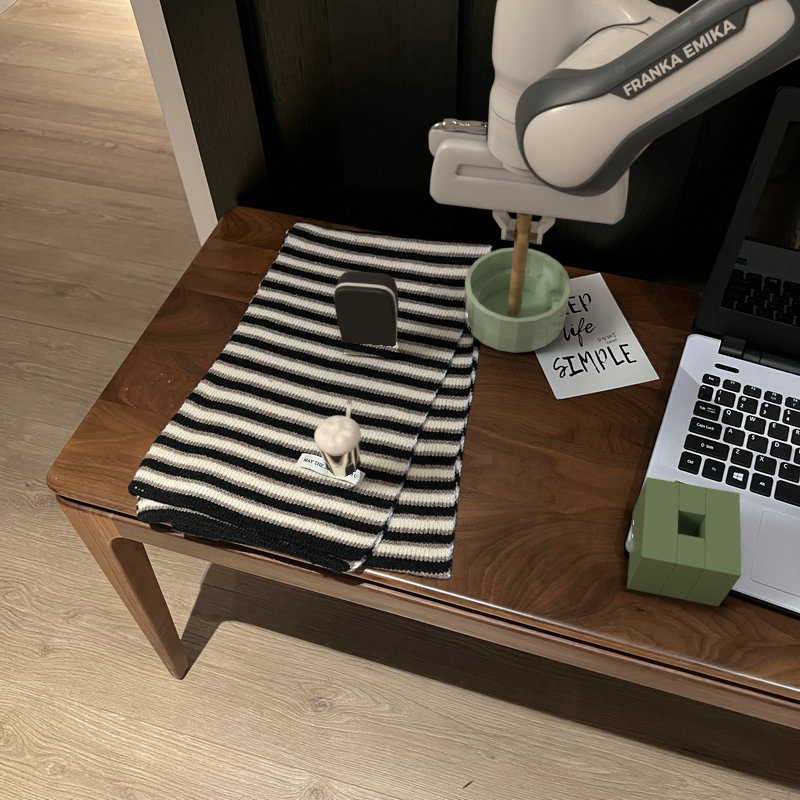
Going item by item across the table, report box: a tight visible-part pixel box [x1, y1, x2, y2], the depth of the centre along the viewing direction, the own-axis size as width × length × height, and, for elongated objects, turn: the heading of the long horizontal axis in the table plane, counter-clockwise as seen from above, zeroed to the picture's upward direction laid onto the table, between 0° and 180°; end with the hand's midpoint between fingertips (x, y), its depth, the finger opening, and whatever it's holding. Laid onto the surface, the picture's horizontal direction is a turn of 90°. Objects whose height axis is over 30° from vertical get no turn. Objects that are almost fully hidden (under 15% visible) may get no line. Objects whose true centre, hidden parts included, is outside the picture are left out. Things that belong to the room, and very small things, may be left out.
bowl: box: [463, 247, 572, 354], centre depth 93 cm, size 12×12×6 cm
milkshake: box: [314, 399, 362, 477], centre depth 79 cm, size 5×5×10 cm
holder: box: [626, 476, 742, 607], centre depth 73 cm, size 8×8×7 cm
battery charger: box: [333, 270, 399, 347], centre depth 90 cm, size 7×4×11 cm, turn 81°
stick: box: [507, 213, 533, 318], centre depth 89 cm, size 2×2×16 cm
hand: (522, 238), depth 86 cm, fingers closed on stick, 1 cm apart
